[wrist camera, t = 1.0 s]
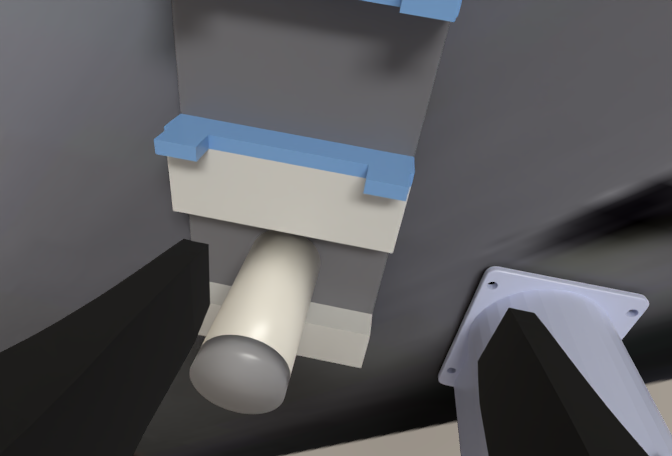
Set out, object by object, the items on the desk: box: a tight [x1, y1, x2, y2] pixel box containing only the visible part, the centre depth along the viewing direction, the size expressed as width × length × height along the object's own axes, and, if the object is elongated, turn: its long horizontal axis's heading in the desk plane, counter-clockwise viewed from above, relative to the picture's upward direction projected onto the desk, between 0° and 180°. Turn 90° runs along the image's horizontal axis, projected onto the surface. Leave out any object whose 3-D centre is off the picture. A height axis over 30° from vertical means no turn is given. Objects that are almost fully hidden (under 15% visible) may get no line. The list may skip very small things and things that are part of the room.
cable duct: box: [154, 0, 462, 368], centre depth 18 cm, size 20×10×4 cm, turn 172°
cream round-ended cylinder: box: [189, 230, 320, 414], centre depth 18 cm, size 4×4×8 cm
